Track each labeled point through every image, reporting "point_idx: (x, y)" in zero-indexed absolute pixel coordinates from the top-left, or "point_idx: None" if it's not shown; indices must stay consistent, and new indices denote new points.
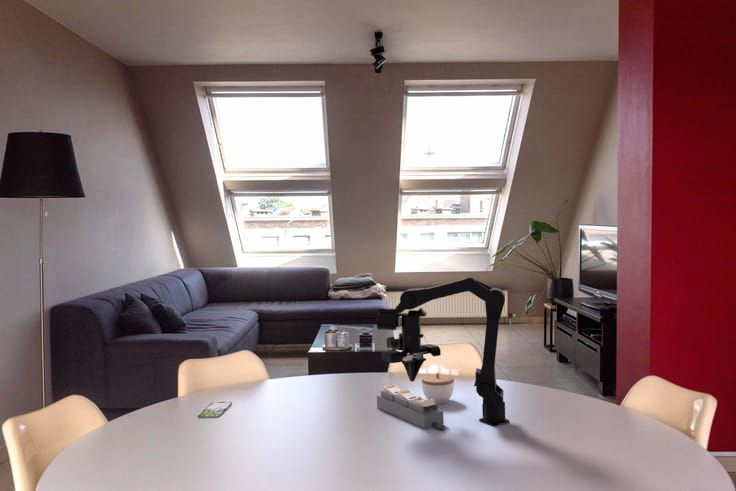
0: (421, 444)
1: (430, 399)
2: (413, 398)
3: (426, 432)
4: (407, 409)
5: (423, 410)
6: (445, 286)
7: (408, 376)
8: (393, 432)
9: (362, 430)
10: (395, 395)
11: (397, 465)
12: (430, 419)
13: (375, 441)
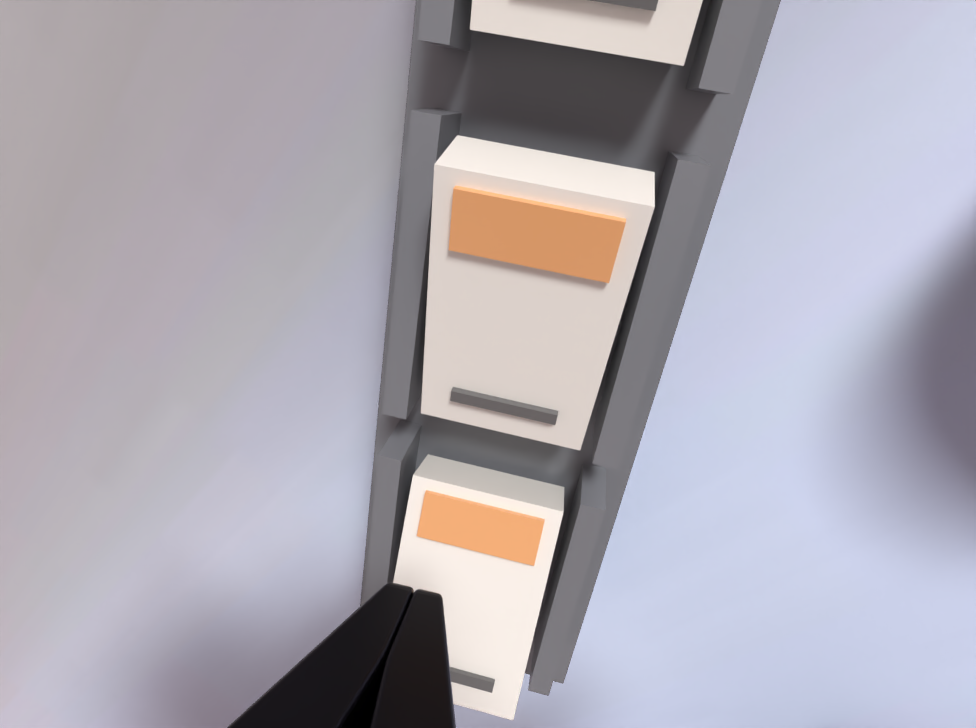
0: (220, 654)
1: (500, 683)
2: (507, 420)
3: None
4: (382, 408)
5: None
6: None
7: (321, 647)
8: (189, 429)
9: (11, 223)
10: (500, 30)
11: (4, 691)
12: None
13: (19, 448)
